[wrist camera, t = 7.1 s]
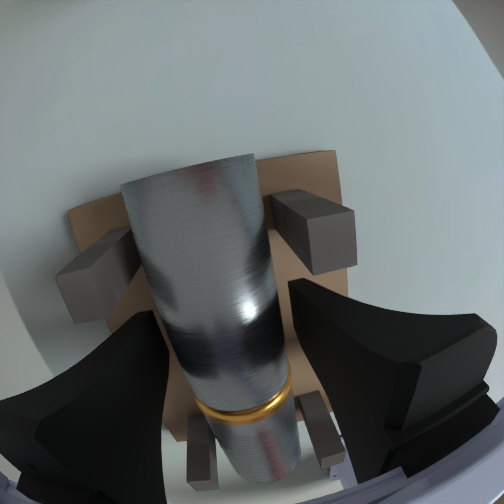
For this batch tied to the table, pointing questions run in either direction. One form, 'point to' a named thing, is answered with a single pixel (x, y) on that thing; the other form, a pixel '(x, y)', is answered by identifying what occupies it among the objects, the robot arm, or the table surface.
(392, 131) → the table surface
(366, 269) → the table surface
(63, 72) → the table surface
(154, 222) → the silver metal cylinder
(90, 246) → the collar stand
